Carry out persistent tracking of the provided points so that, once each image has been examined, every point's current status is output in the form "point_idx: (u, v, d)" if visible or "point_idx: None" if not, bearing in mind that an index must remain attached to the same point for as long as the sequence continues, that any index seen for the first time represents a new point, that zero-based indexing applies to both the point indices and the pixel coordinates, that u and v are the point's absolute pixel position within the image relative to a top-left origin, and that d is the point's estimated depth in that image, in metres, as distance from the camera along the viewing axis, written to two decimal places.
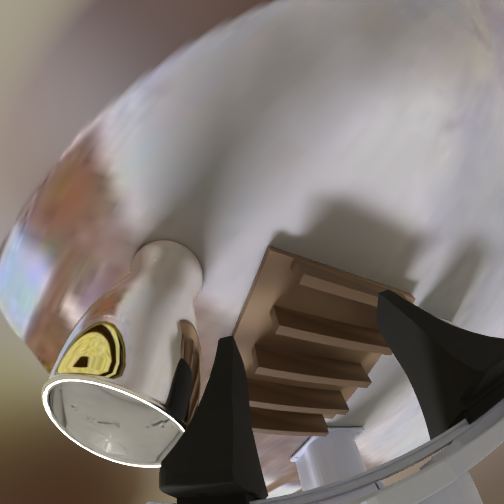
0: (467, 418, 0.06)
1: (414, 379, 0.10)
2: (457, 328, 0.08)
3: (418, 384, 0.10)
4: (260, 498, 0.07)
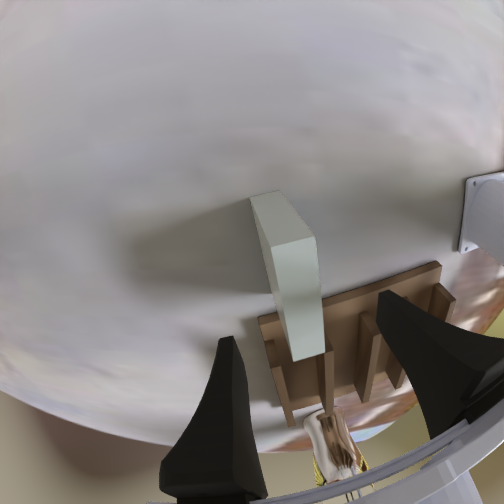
0: (467, 418, 0.06)
1: (414, 379, 0.10)
2: (457, 328, 0.08)
3: (418, 384, 0.10)
4: (260, 498, 0.07)
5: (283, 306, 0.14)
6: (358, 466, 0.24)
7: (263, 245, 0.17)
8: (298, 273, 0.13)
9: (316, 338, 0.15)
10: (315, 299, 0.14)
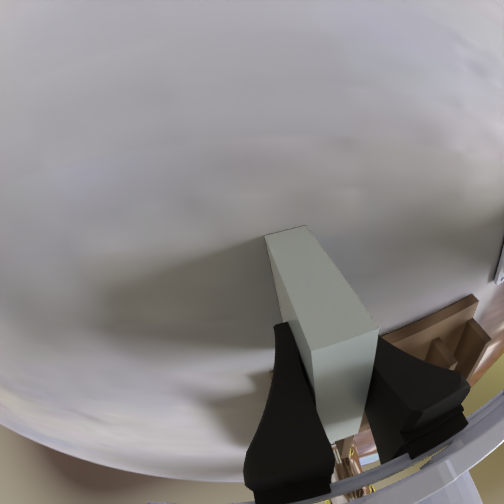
0: (409, 453, 0.06)
1: None
2: (406, 354, 0.08)
3: (367, 407, 0.10)
4: (330, 482, 0.07)
5: (317, 407, 0.09)
6: None
7: (285, 309, 0.12)
8: (345, 374, 0.08)
9: (351, 425, 0.10)
10: (360, 394, 0.09)
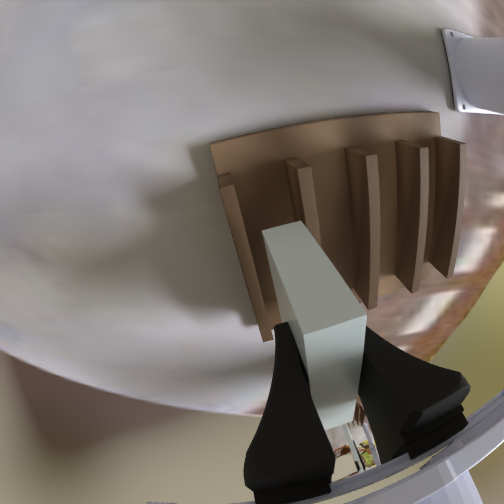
0: (409, 453, 0.06)
1: (364, 401, 0.10)
2: (406, 354, 0.08)
3: (367, 407, 0.10)
4: (330, 482, 0.07)
5: (311, 391, 0.09)
6: None
7: (282, 300, 0.12)
8: (336, 358, 0.09)
9: (345, 412, 0.11)
10: (352, 380, 0.10)
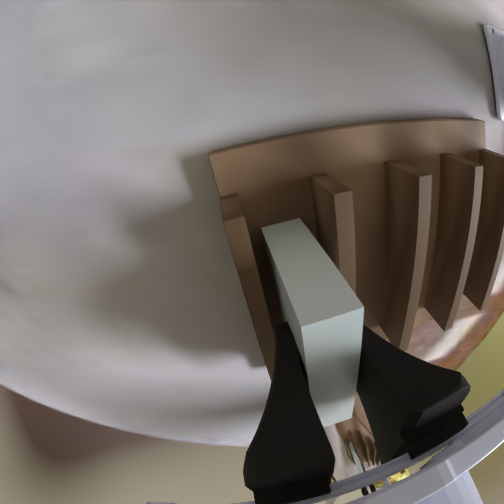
0: (409, 452, 0.06)
1: (364, 401, 0.10)
2: (406, 354, 0.08)
3: (367, 407, 0.10)
4: (330, 482, 0.07)
5: (309, 386, 0.10)
6: None
7: (280, 295, 0.12)
8: (334, 352, 0.09)
9: (344, 408, 0.11)
10: (350, 374, 0.10)
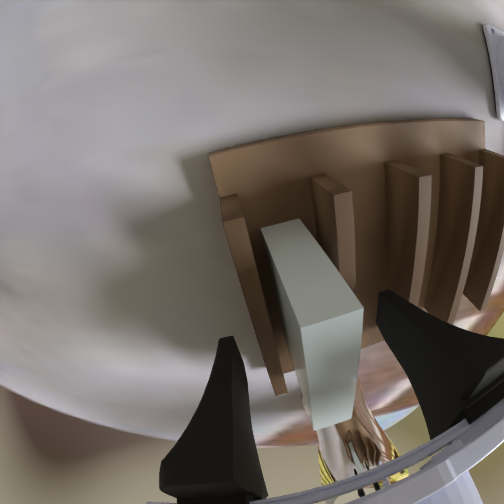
0: (467, 418, 0.06)
1: (414, 379, 0.10)
2: (457, 328, 0.08)
3: (418, 384, 0.10)
4: (260, 498, 0.07)
5: (309, 387, 0.10)
6: None
7: (280, 296, 0.12)
8: (333, 353, 0.09)
9: (344, 409, 0.11)
10: (350, 375, 0.10)
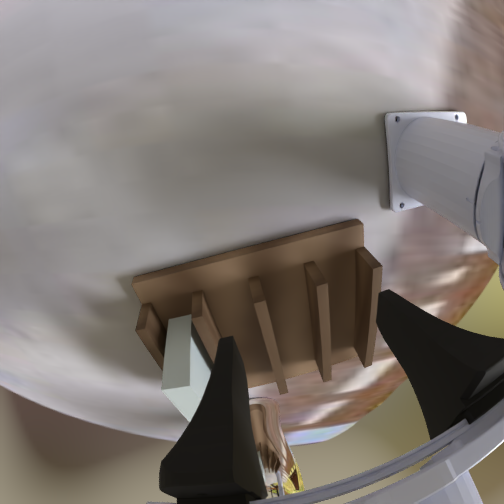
0: (467, 418, 0.06)
1: (414, 379, 0.10)
2: (457, 328, 0.08)
3: (418, 384, 0.10)
4: (260, 498, 0.07)
5: (182, 413, 0.18)
6: (282, 469, 0.22)
7: None
8: (185, 400, 0.17)
9: None
10: None
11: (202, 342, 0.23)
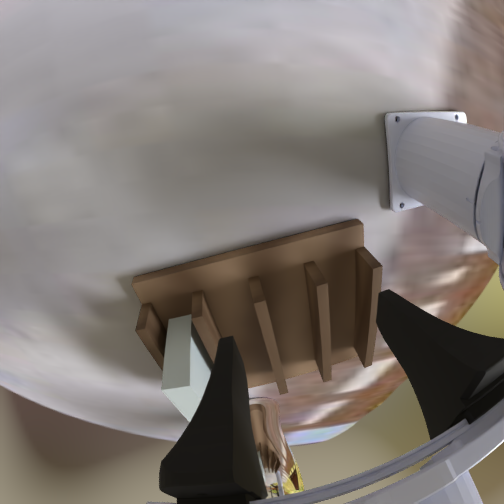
0: (467, 418, 0.06)
1: (414, 379, 0.10)
2: (457, 328, 0.08)
3: (418, 384, 0.10)
4: (260, 498, 0.07)
5: (182, 413, 0.18)
6: (281, 469, 0.22)
7: None
8: (185, 400, 0.17)
9: None
10: None
11: (202, 342, 0.23)
